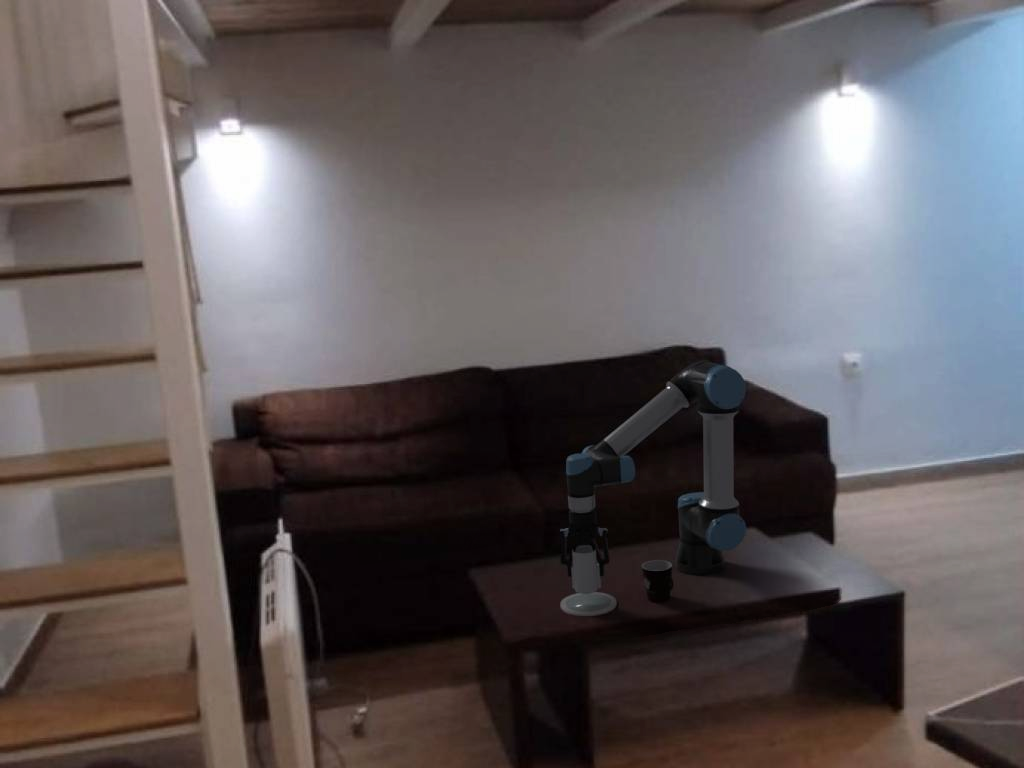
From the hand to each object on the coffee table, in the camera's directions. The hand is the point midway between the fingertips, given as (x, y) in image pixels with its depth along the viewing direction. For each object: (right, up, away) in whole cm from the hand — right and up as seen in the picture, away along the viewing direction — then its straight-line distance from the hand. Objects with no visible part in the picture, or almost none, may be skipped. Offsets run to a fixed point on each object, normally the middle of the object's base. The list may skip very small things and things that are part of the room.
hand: (586, 586), depth 293 cm
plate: (+1, -6, +1) cm, 6 cm away
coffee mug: (+21, -4, +1) cm, 21 cm away
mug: (0, -1, 0) cm, 1 cm away
